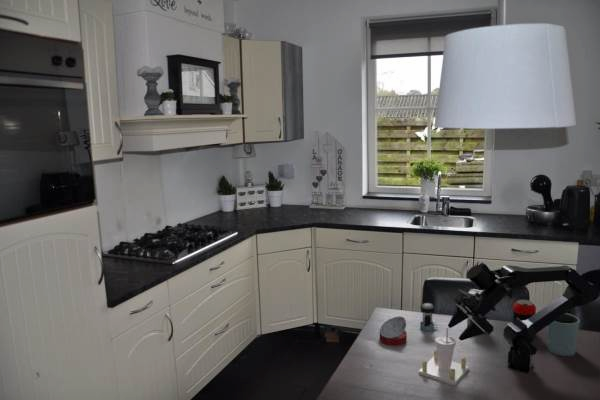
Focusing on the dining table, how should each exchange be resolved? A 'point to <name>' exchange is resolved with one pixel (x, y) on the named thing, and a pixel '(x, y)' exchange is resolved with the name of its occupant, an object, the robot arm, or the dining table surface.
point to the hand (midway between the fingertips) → (454, 333)
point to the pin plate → (446, 376)
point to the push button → (427, 317)
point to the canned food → (394, 332)
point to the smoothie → (445, 351)
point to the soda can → (523, 309)
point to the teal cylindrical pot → (563, 335)
